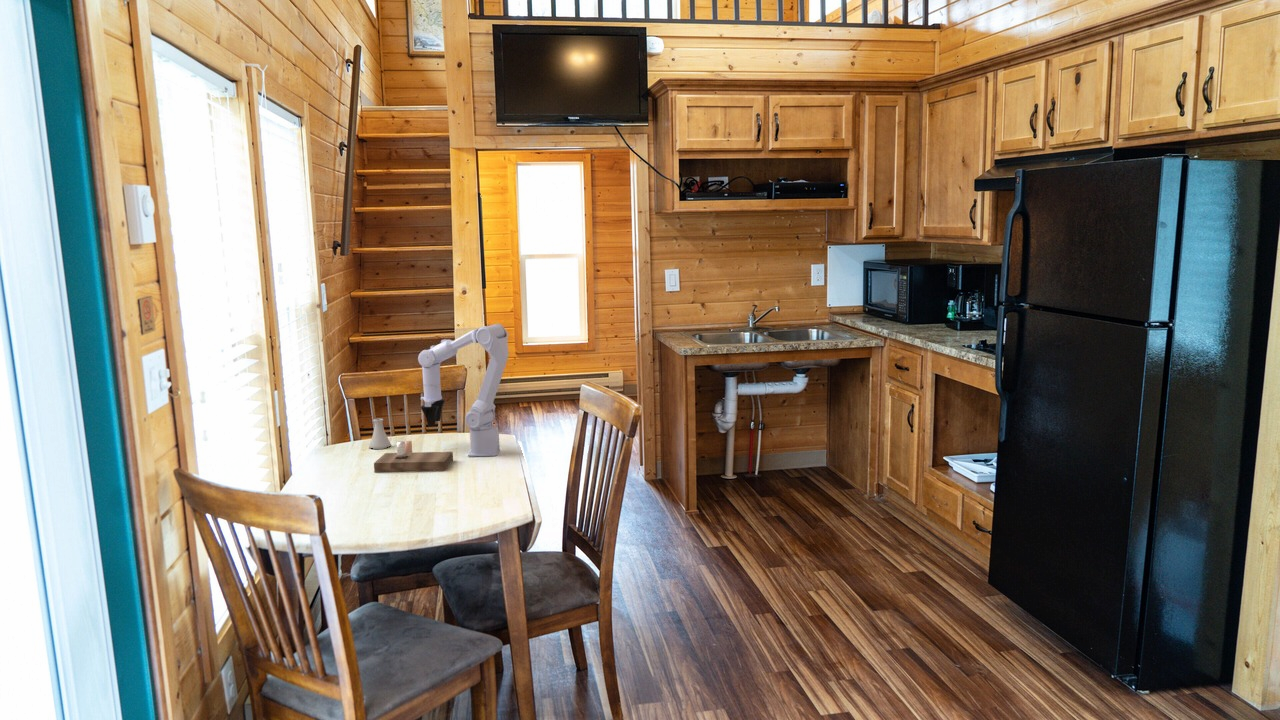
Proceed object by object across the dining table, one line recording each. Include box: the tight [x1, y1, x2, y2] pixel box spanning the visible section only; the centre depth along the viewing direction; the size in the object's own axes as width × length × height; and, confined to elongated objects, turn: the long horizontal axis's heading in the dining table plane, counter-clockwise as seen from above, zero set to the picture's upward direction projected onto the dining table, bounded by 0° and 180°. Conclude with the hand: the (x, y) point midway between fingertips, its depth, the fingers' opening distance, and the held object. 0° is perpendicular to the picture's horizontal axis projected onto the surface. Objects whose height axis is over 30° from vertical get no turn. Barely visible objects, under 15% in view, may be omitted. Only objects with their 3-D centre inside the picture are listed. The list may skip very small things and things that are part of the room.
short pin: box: [404, 440, 413, 453], centre depth 282 cm, size 2×2×4 cm
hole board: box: [373, 451, 454, 473], centre depth 267 cm, size 22×12×3 cm, turn 90°
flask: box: [368, 418, 392, 450], centre depth 292 cm, size 7×7×10 cm
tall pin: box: [396, 440, 406, 459], centre depth 267 cm, size 2×2×8 cm
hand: (434, 423), depth 286 cm, fingers open, 7 cm apart
